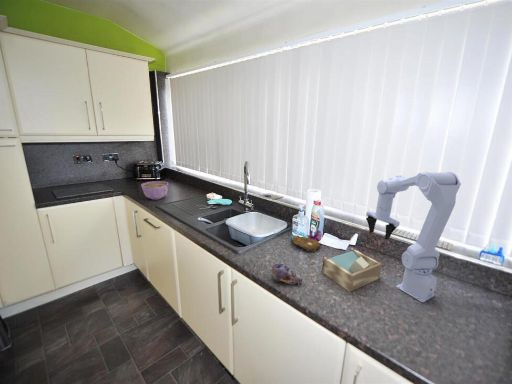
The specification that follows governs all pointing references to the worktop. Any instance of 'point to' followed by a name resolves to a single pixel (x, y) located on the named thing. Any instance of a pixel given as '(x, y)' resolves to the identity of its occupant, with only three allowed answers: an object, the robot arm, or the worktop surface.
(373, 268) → the trapdoor frame
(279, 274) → the purple lumpy piece
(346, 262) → the trapdoor
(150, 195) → the bowl of food
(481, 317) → the worktop surface
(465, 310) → the worktop surface
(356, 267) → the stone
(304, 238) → the decorative rock
